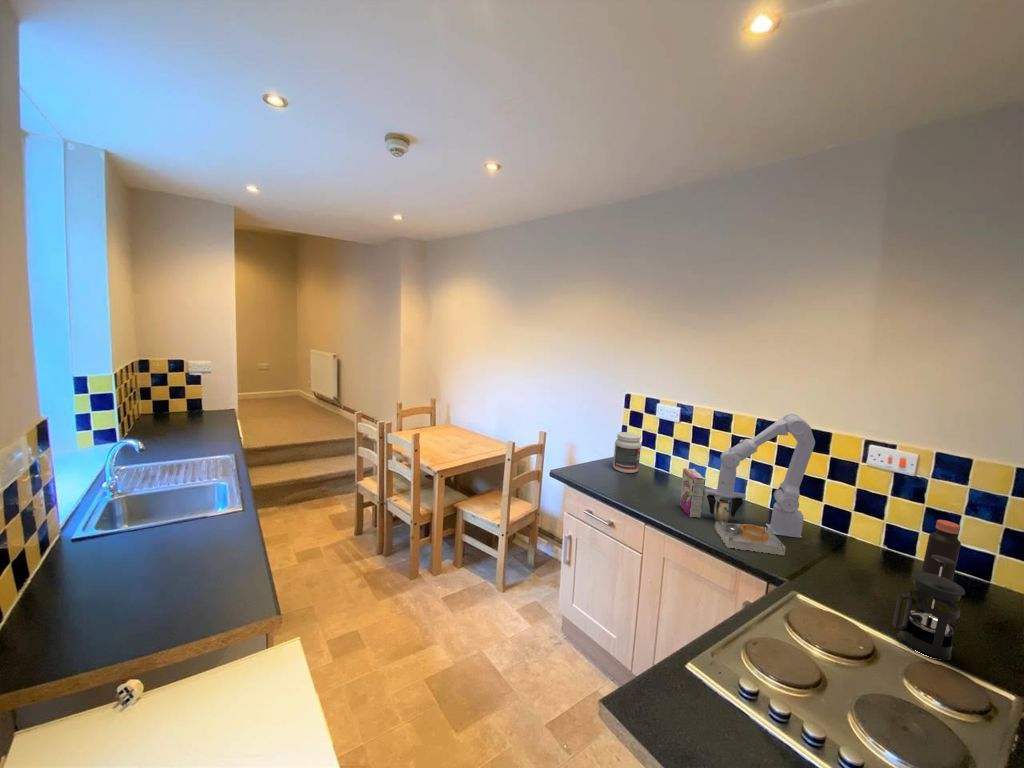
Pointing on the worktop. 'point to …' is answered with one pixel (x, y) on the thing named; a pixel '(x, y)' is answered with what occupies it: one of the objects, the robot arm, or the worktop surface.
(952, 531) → the bottle
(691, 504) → the candy bar box
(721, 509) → the tan piece
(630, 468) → the supplement tub
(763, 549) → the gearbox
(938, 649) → the french press
